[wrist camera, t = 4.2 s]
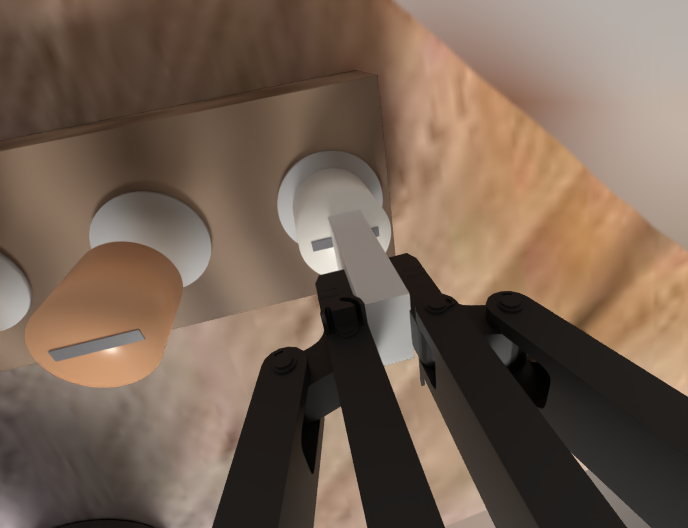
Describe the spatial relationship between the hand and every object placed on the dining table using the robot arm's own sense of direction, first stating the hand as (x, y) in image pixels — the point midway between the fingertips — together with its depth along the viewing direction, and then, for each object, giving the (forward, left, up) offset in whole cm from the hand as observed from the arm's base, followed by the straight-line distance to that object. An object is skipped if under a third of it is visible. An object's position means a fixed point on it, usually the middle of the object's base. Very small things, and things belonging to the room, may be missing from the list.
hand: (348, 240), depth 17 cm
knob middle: (-10, 0, -1) cm, 10 cm away
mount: (-10, 0, -10) cm, 14 cm away
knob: (0, 0, -4) cm, 4 cm away
